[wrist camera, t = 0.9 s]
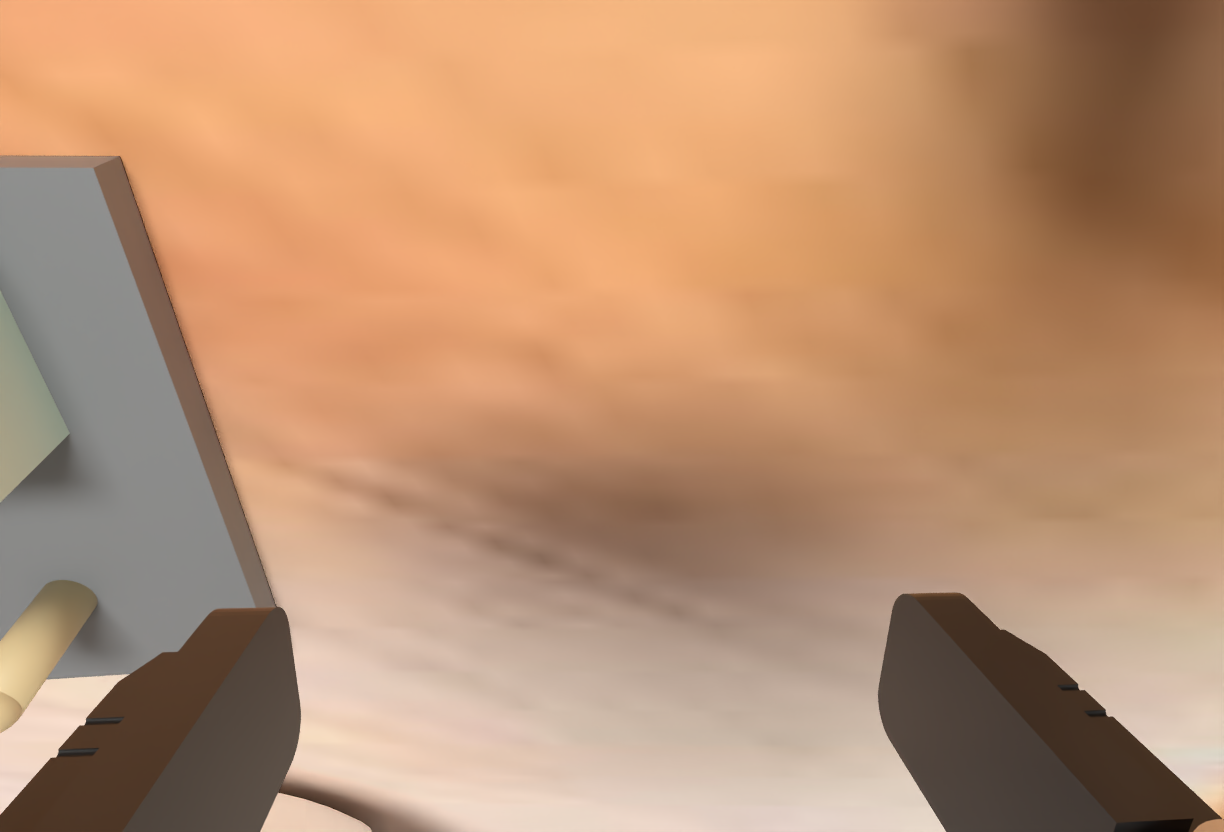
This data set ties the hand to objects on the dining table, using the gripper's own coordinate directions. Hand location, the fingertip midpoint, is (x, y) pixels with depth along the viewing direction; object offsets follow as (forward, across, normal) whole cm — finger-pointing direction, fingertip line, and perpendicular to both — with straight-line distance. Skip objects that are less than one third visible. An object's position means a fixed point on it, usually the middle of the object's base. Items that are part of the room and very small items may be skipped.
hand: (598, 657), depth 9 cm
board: (+18, +20, +4) cm, 28 cm away
